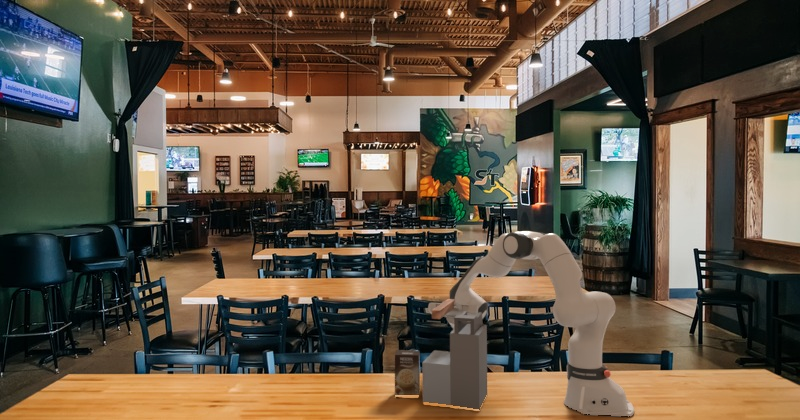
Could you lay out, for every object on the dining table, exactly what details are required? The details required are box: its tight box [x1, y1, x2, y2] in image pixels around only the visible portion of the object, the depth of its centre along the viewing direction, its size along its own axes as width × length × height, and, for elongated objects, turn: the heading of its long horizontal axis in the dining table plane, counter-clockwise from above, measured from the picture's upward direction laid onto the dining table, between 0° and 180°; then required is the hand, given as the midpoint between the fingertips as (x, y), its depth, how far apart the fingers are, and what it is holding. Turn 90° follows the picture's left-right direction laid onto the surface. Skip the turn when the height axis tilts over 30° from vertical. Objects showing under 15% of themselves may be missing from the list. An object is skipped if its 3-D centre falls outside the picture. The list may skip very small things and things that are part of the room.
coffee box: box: [394, 349, 421, 396], centre depth 191 cm, size 9×6×16 cm
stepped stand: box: [421, 311, 488, 411], centre depth 186 cm, size 20×16×32 cm
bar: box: [431, 298, 455, 320], centre depth 195 cm, size 3×24×3 cm, turn 161°
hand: (449, 303), depth 203 cm, fingers closed on bar, 3 cm apart
